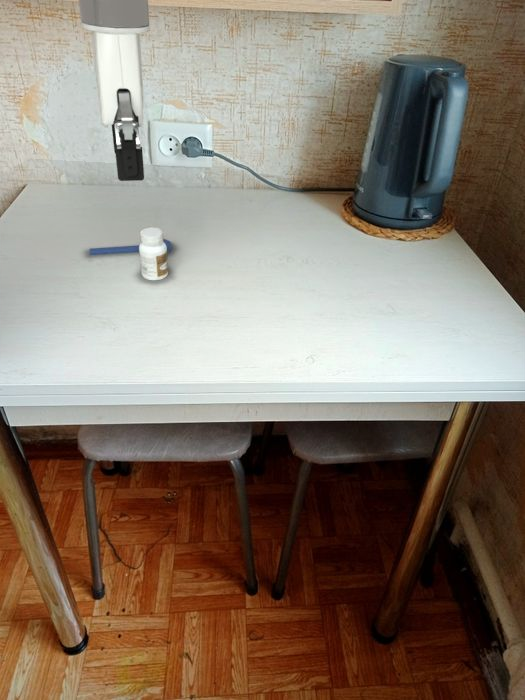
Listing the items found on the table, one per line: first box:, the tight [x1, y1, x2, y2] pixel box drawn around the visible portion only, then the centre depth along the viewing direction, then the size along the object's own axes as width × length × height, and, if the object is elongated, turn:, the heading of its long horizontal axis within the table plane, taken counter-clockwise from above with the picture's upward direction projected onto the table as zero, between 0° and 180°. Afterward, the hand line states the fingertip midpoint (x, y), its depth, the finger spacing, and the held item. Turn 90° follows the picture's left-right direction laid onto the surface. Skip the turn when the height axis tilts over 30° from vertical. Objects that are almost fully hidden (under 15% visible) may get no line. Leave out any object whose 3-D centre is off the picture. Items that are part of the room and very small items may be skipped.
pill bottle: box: [138, 227, 169, 281], centre depth 83 cm, size 4×4×8 cm
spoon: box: [89, 238, 172, 256], centre depth 91 cm, size 14×4×1 cm, turn 105°
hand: (128, 166), depth 68 cm, fingers open, 9 cm apart
